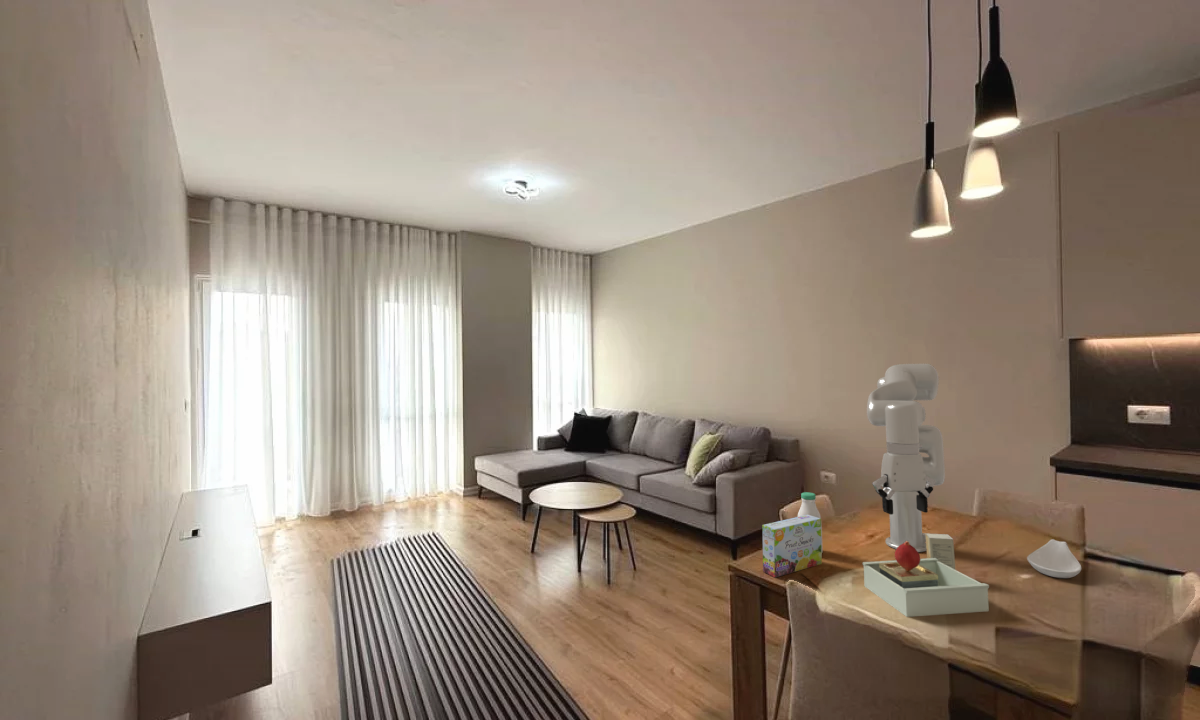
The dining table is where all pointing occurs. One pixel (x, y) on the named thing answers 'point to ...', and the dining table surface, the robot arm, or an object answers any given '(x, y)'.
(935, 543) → the skincare box
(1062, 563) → the spoon rest
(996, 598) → the dining table surface
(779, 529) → the snack box
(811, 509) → the milk bottle
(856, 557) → the dining table surface
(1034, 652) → the dining table surface
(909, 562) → the onion
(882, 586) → the box
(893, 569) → the tin
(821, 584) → the dining table surface
